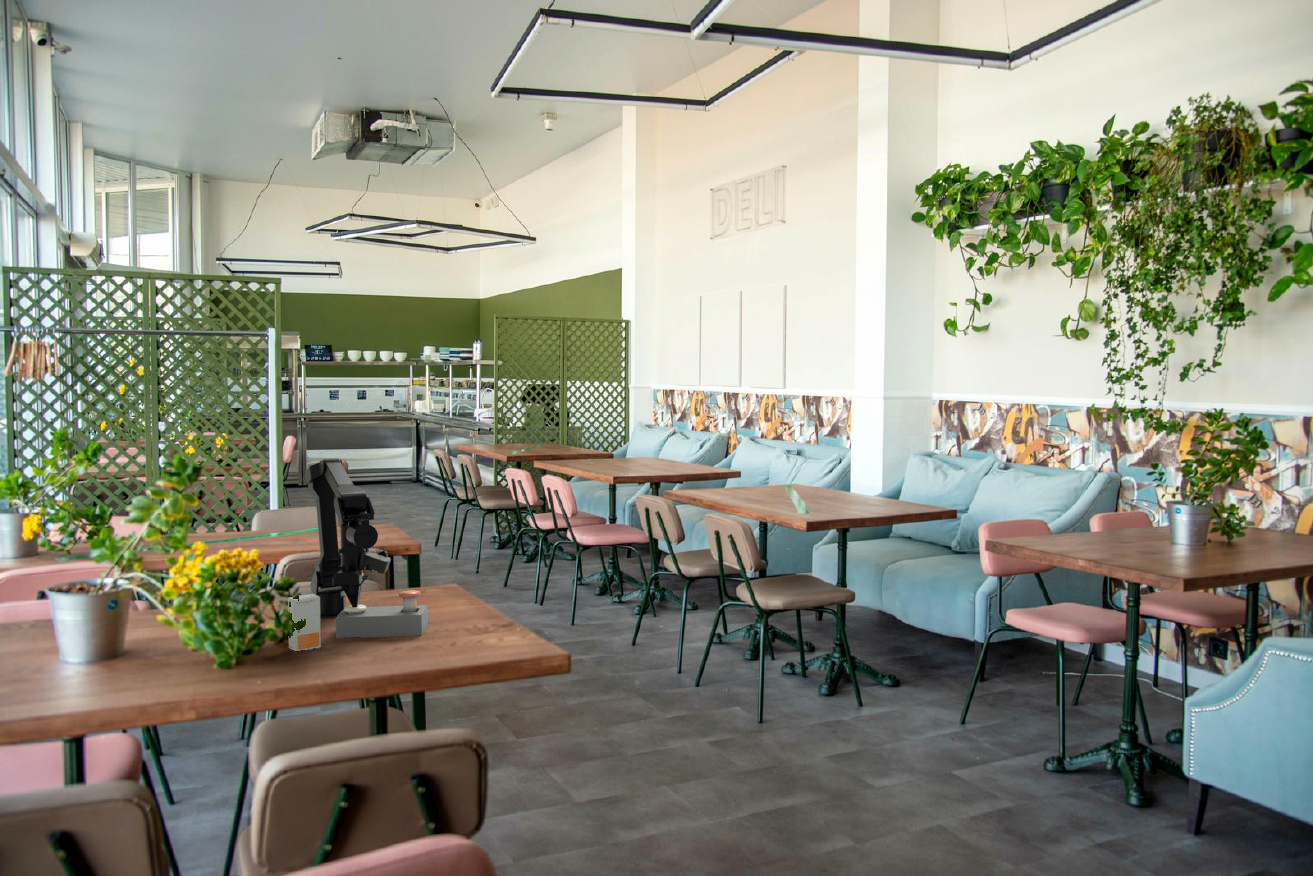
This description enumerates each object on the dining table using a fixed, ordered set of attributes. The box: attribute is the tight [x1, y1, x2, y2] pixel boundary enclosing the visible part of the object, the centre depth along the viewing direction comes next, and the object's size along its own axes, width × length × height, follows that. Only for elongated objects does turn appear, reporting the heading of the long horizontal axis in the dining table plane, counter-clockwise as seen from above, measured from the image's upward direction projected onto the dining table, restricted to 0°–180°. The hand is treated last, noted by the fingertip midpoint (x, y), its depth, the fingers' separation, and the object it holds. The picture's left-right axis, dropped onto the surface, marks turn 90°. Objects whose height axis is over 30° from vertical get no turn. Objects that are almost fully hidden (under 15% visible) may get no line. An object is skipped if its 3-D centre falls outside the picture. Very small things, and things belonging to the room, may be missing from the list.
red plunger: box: [398, 589, 421, 613], centre depth 233 cm, size 5×5×5 cm
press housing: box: [335, 604, 429, 639], centre depth 232 cm, size 20×10×5 cm, turn 95°
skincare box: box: [287, 593, 322, 652], centre depth 218 cm, size 6×4×12 cm
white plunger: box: [344, 604, 367, 614], centre depth 231 cm, size 5×5×5 cm
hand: (355, 607), depth 231 cm, fingers closed, pressing on white plunger
